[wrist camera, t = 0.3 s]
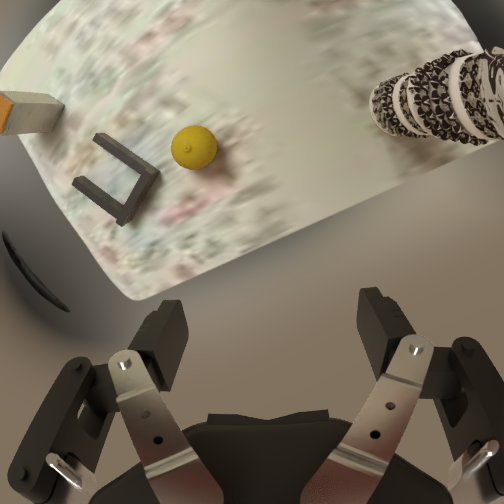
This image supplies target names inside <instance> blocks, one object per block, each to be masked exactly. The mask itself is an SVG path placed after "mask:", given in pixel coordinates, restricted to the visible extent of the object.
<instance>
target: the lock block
mask: <svg viewBox="0 0 504 504" xmlns="http://www.w3.org/2000/svg"><path fill="white" fill-rule="evenodd" d="M64 106H65V105H64V104H63V103H61V102H60V101H58V100H57V99H55V98H54V97H52V96H51V95H49V94H43V93H31V92H16V91H0V134H1V135H2V136H8V135H16V134H26V133H37V132H52V131H53V128H54V126H55V124H56V122H57V120H58V118H59V116H60V114H61V112H62V110H63V108H64Z"/></svg>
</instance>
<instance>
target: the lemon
mask: <svg viewBox="0 0 504 504" xmlns="http://www.w3.org/2000/svg"><path fill="white" fill-rule="evenodd" d="M171 152H172V155H173V158H174V159H175V161H176V162H177V163H178V164H179V165H180V166H182V167H184V168H187V169H199V168H203V167H205V166H206V165H208V164H209V163H210V162H211V161H212V160H213V158H214V157H215V155H216V152H217V142H216V139H215V137H214V135H213V134H212V133H211V131H209V130H208V129H206V128H204V127H202V126H188V127H186V128H184V129H182V130H181V131H179V132H178V133H177V134H176V136H175V137H174V139H173V141H172V145H171Z"/></svg>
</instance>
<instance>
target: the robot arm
mask: <svg viewBox="0 0 504 504" xmlns="http://www.w3.org/2000/svg"><path fill="white" fill-rule="evenodd" d="M357 329H358V332H359V334H360V337H361V340H362V342H363V345H364V347H365V350H366V353H367V355H368V358H369V361H370V364H371V367H372V369H373V372H374V375H375V378H376V381H377V384H376V386H375V388H374V389H373V391H372V393H371V395H370V396H369V398H368V400H367V401H366V404H365V405H364V407H363V408H362V410H361V411H360V413H359V415H358V416H357V418H356V420H355V421H354V423H350V422H348V421H345V420H341V419H336V418H330V417H329V413H328V410H318V411H308V412H298V413H294V414H291V415H287V416H283V417H279V418H275V419H271V420H263V419H257V418H252V417H247V416H242V415H237V414H208V419H207V422H203V423H199V424H196V425H193V426H190V427H188V428H186V429H184V430H182V431H181V430H180V428H179V426H178V425H177V423H176V422H175V420H174V418H173V416H172V415H171V413H170V411H169V409H168V408H167V406H166V404H165V403H164V401H163V399H162V397H161V395H160V391H169V392H170V390H171V387H172V384H173V381H174V378H175V375H176V372H177V370H178V367H179V364H180V361H181V358H182V355H183V352H184V349H185V347H186V344H187V341H188V326H187V322H186V318H185V315H184V311H183V307H182V303H181V301H180V300H163V301H162V303H161V305H160V307H159V308H158V310H157V311H153V312H152V313H150V314H149V315H148V316H147V317H146V318H145V320H144V321H143V323H142V326H140V328H139V331H138V332H137V333H136V335H135V337H134V338H133V340H132V342H131V344H130V346H129V347H128V349H127V350H124V351H120V352H118V353H116V354H115V355H113V356H112V357H111V359H110V360H109V362H108V364H103V365H95V366H93V365H92V363H91V362H90V360H89V359H88V358H86V357H76V358H73V359H71V360H70V361H68V362H67V363H66V364H65V366H64V367H63V369H62V370H61V372H60V374H59V375H58V377H57V379H56V380H55V382H54V384H53V385H52V387H51V389H50V390H49V392H48V394H47V396H46V397H45V399H44V401H43V402H42V404H41V406H40V408H39V410H38V411H37V413H36V415H35V417H34V419H33V421H32V422H31V424H30V426H29V429H28V430H27V432H26V434H25V436H24V438H23V440H22V442H21V444H20V446H19V448H18V450H17V452H16V454H15V456H14V459H13V461H12V463H11V465H10V468H9V470H8V482H9V484H10V486H11V487H12V488H13V489H14V490H15V491H17V492H18V493H19V494H21V495H22V496H23V497H25V498H26V499H27V500H28V501H29V502H31V503H33V504H500V503H502V502H503V501H504V382H503V380H502V378H501V376H500V375H499V373H498V371H497V370H496V368H495V366H494V365H493V363H492V362H491V360H490V359H489V357H488V355H487V354H486V352H485V351H484V349H483V348H482V346H481V345H480V343H479V342H477V341H476V340H475V339H472V338H470V337H460V338H457V339H456V340H455V341H454V342H453V344H452V347H451V348H449V347H434V346H433V344H432V342H431V341H430V340H429V339H428V338H426V337H424V336H421V335H417V334H416V332H415V331H414V329H413V328H412V326H411V325H410V323H409V321H408V320H407V318H406V316H405V315H404V313H403V312H402V311H401V309H400V307H399V306H398V304H397V302H395V301H394V300H393V299H391V298H389V297H383V296H382V294H381V293H380V291H379V289H378V288H377V287H371V288H361V289H360V292H359V301H358V310H357ZM418 398H421V399H433V400H434V403H435V406H436V408H437V411H438V414H439V417H440V419H441V422H442V425H443V428H444V431H445V434H446V437H447V440H448V443H449V446H450V449H451V453H452V456H453V459H454V463H453V465H452V466H451V468H450V470H449V473H448V487H447V488H446V487H445V486H444V485H443V484H442V483H440V482H439V481H437V480H436V479H434V478H432V477H431V476H429V475H428V474H426V473H425V472H423V471H421V470H420V469H418V468H417V467H415V466H414V465H412V464H411V463H409V462H408V461H406V460H405V459H403V458H402V457H400V456H399V455H398V454H396V453H395V450H396V449H397V447H398V444H399V443H400V440H401V438H402V436H403V434H404V432H405V430H406V427H407V425H408V423H409V420H410V418H411V416H412V413H413V411H414V408H415V406H416V403H417V400H418ZM82 403H83V404H84V405H85V406H84V408H83V410H82V412H81V414H80V417H79V419H78V418H77V415H78V411H79V409H80V407H81V405H82ZM115 412H121V415H122V418H123V420H124V423H125V425H126V428H127V430H128V432H129V435H130V437H131V440H132V442H133V445H134V447H135V449H136V452H137V454H138V456H139V458H140V460H141V461H140V462H139V463H138V464H136V465H135V466H133V467H132V468H131V469H129V470H128V471H126V472H125V473H123V474H122V475H120V476H119V477H118V478H116V479H115V480H113V481H111V482H110V483H108V484H107V485H105V486H104V487H102V488H101V489H99V490H98V489H97V488H98V482H97V479H96V477H95V475H94V473H95V469H96V466H97V463H98V460H99V457H100V454H101V451H102V448H103V446H104V443H105V440H106V437H107V434H108V432H109V429H110V426H111V423H112V420H113V418H114V415H115Z"/></svg>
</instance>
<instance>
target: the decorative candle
mask: <svg viewBox="0 0 504 504" xmlns="http://www.w3.org/2000/svg"><path fill="white" fill-rule="evenodd" d="M457 57H460V58H457ZM369 109H370V114H371V116H372V118H373V120H374V122H375V124H376V125H377V126H378V127H379V128H380V129H381V130H382V131H383V132H385V133H387V134H389V135H392V136H398V137H401V136H402V137H416V138H418V137H421V136H422V137H424V138H426V137H428V135H432V136H434V137H436V138H441V139H442V140H448V139H450V140H452V141H454V142H456V141H458V140H460V142H461V143H463V144H467V143H471V144H473V145H476V146H478V145H480V144H486V143H487V142H488V140H495V141H499V140H501V139H502V140H504V50H503V49H501V48H499V47H492V48H487V49H486V50H485V51H484V53H482V54H476V53H474V54H473V53H468V52H465V51H464V50H463V49H461V50H459V51H453V52H452V53H451V54H450V55H447V54H444V55H443V56H442V57H441V58H440V59H436V60H434V61H432V62H431V63H429V62H427V63H425V65H424V67H422V68H417V69H416V70H415V72H414V73H412V74H408V73H404V74H403V75H399V76H396V77H393V78H391V79H389V80H386V81H384V82H381V83H380V84H379V85H377V86H376V87H375V88H374V90H373V91H372V92H371V95H370V99H369ZM471 135H474V136H471ZM477 138H478V139H477Z"/></svg>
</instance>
